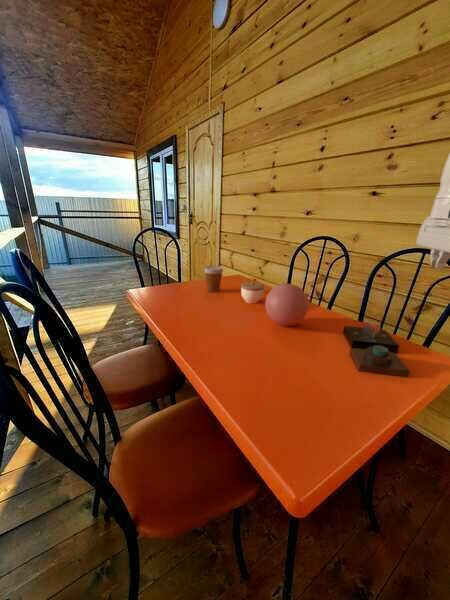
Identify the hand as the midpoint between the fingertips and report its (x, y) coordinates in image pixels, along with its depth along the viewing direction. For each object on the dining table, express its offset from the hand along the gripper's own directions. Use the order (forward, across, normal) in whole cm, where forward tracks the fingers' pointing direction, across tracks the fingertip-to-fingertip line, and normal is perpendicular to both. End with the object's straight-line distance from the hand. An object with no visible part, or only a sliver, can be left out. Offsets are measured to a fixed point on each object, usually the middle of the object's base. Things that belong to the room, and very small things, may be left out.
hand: (436, 267), depth 66 cm
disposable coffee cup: (+27, -49, -71) cm, 90 cm away
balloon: (+27, -17, -34) cm, 47 cm away
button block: (+27, +6, -11) cm, 30 cm away
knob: (+24, -7, -9) cm, 27 cm away
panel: (+27, -7, -9) cm, 29 cm away
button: (+24, +7, -11) cm, 27 cm away
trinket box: (+27, -38, -50) cm, 68 cm away
